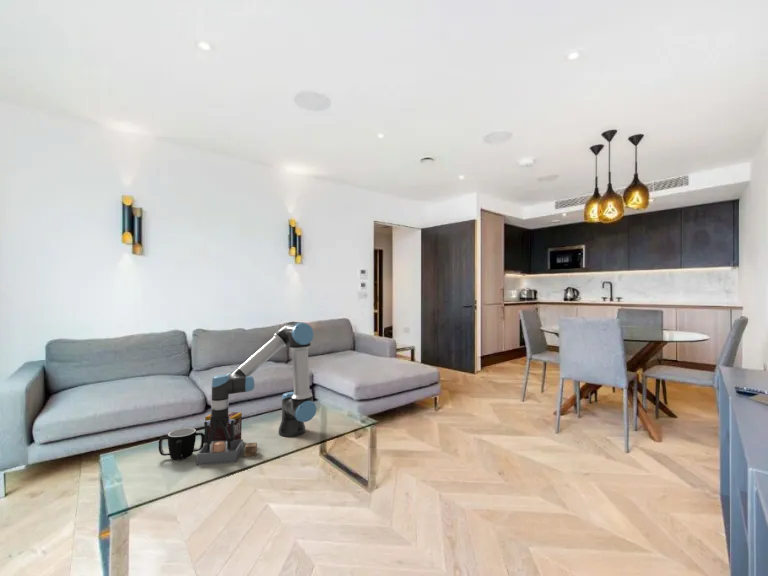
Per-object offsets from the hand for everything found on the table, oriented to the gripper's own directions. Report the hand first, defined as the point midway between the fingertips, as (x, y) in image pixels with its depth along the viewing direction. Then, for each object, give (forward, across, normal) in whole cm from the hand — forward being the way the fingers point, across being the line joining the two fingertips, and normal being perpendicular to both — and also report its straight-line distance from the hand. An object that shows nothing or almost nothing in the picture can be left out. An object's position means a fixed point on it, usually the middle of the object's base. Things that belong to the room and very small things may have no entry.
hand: (219, 456), depth 174 cm
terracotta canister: (+1, 0, 0) cm, 1 cm away
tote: (+2, 0, -4) cm, 4 cm away
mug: (+2, +19, -7) cm, 20 cm away
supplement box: (+2, +3, -20) cm, 21 cm away
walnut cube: (+2, -14, -4) cm, 15 cm away
